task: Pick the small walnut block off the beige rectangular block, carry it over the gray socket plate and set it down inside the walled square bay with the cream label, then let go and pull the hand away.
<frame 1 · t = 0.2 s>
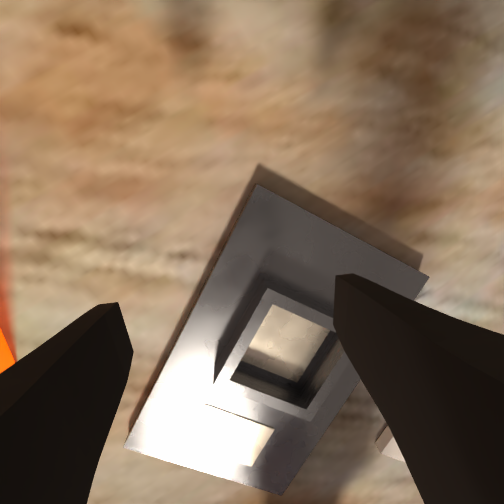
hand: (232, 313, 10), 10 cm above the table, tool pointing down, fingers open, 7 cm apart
gray socket plate: (269, 355, 22), on the table
beige rectangular block: (426, 419, 25), on the table
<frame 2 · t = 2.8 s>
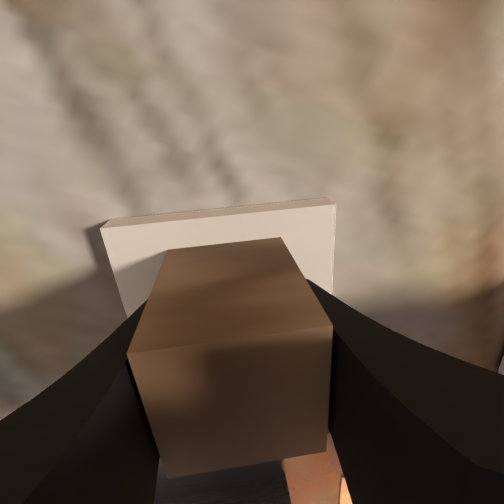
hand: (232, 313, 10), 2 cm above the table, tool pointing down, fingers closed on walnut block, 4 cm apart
gray socket plate: (255, 496, 18), on the table
beige rectangular block: (229, 279, 12), on the table
walnut block: (230, 291, 11), point 1 cm above the table, touching gripper, beige rectangular block
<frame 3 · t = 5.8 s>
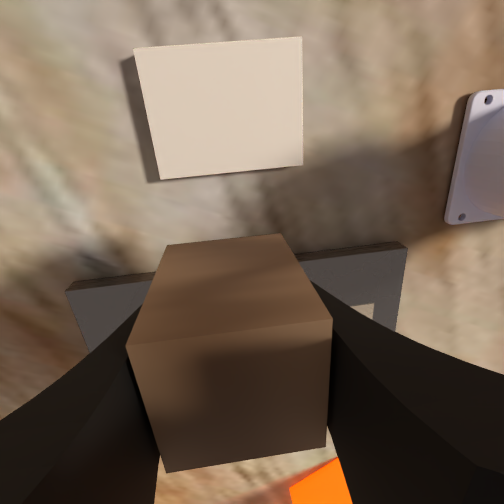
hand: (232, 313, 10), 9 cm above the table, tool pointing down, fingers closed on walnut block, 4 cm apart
gray socket plate: (250, 341, 22), on the table
beige rectangular block: (226, 113, 16), on the table
walnut block: (230, 287, 11), point 8 cm above the table, touching gripper
orange juice: (338, 483, 32), on the table
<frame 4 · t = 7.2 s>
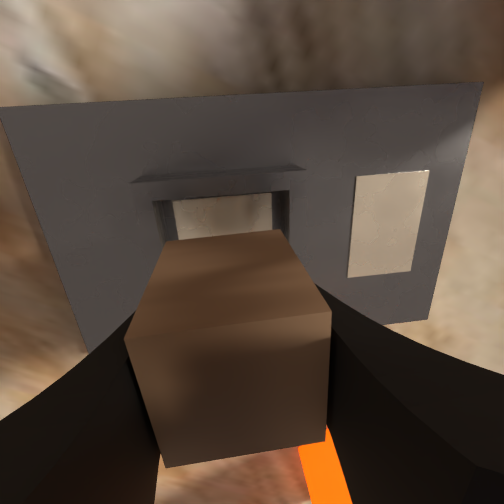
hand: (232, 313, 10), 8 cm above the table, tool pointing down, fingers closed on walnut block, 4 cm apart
gray socket plate: (260, 231, 17), on the table
walnut block: (229, 284, 11), point 6 cm above the table, touching gripper
orange juice: (355, 445, 27), on the table
when the fingers open (4 cm above the table, at t = 8.7 s): walnut block drops 2 cm, resting on gray socket plate.
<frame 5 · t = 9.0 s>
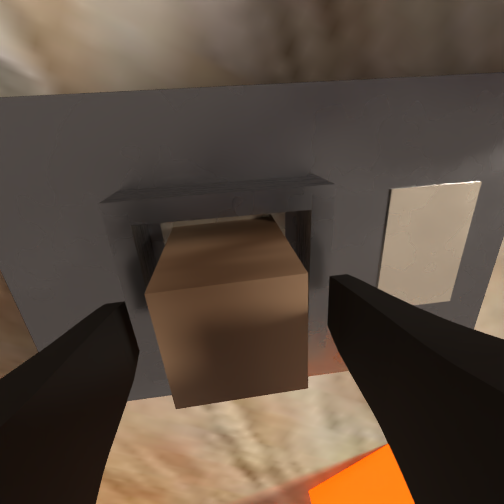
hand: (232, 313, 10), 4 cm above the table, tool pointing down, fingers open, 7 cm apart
gray socket plate: (269, 254, 14), on the table
walnut block: (228, 265, 12), point 1 cm above the table, touching gray socket plate
orange juice: (372, 486, 24), on the table
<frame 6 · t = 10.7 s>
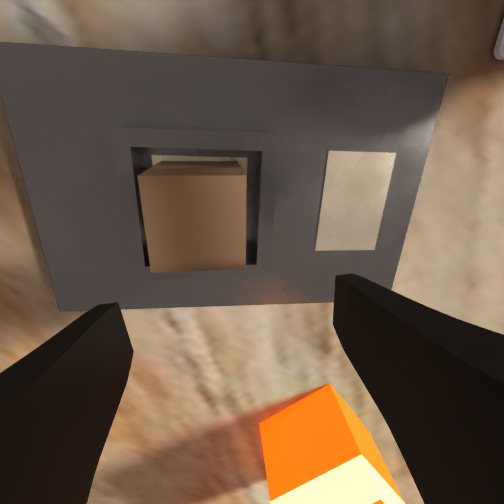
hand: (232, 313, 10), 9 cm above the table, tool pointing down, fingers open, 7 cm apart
gray socket plate: (235, 198, 18), on the table
walnut block: (201, 198, 16), point 1 cm above the table, touching gray socket plate
orange juice: (315, 426, 27), on the table
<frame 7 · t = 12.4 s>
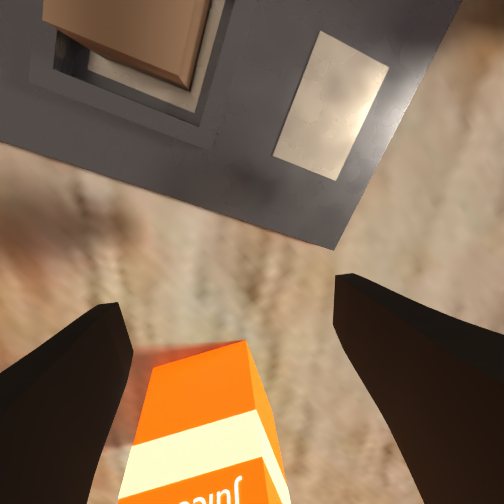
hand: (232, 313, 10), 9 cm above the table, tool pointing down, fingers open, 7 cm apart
gray socket plate: (200, 59, 14), on the table
walnut block: (157, 26, 13), point 1 cm above the table, touching gray socket plate
orange juice: (216, 389, 24), on the table
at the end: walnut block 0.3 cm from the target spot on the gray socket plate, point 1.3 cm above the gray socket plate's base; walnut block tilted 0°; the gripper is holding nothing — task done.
